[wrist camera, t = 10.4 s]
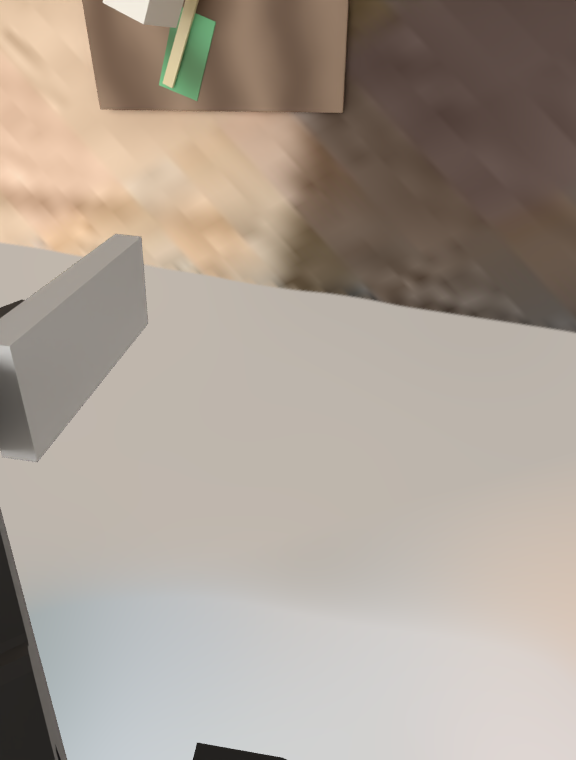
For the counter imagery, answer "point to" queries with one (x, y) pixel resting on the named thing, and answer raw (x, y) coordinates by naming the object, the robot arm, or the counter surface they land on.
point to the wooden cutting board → (225, 57)
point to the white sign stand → (162, 24)
